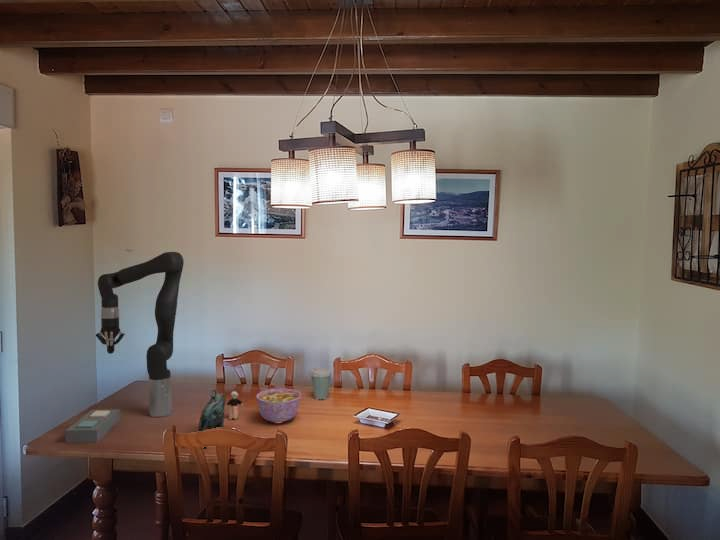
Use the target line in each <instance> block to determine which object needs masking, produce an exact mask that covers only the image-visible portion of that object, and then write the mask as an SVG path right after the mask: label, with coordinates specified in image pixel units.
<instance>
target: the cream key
mask: <svg viewBox="0 0 720 540" xmlns="http://www.w3.org/2000/svg"><path fill="white" fill-rule="evenodd" d="M108 414H110V411H95V412H94V413H93V414H91V415H90V417H106V416H107V415H108Z"/></svg>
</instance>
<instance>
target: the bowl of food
mask: <svg viewBox="0 0 720 540" xmlns="http://www.w3.org/2000/svg"><path fill="white" fill-rule="evenodd" d="M255 396H256V397H255V398H256V401H257V406H258V410H259V413H260V414H261V417H262V418H263V419H265V420H266V421H268V422H270V421H271V422H270V423H272V422H284V421H286V422H287V421H289V420H292V419H293V418H294V417H295V416H296V414H297V412H298V408H299V405H300V401H301V397H302V394H301V392H300V391H297V390H295V389H292V388H291V389H290V388H270V389H266V390H263V391H260V392H259V393H257V394H256V395H255ZM284 423H285V422H284Z"/></svg>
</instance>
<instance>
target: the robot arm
mask: <svg viewBox="0 0 720 540" xmlns="http://www.w3.org/2000/svg"><path fill="white" fill-rule="evenodd" d="M183 270H184V257H183V255H182V254H181V253H180V252H178V251H166V252H162V253H161V254H159V255H157V256H155V257H153V258H152V259H149V260H147V261H144V262H141V263H139V264H133V265H131V266H128V267H125V268H122V269H120V270H118V271H116V272H112V273H103V274H101V275H100V276H99V278H98V280H97V287H98V292H99V294H100V298H101V310H100V319H101V321H100V323H101V324H100V326H101V329H100V330H99V332H98V333H96V334H95V337H96V338H97V339H98V340H99V342H100V343H101V344H102V345H105V346H106V352H107V354H111V355H112V354H113V353H114V352H115V350H116V349H115V346H116V345H117V344H119V343H120V342H121V340H122V339H123V338H124V337H125V336H126V333H125V332H122V331H121V329H120V309H119V308H120V307H119V296H118V295H117V294H116V293H114V290H113V289H116V288H119V287H122V286H124V285H126V284H132V283H134V282H137V281H140V280H142V279H144V278H146V277H148V276H152V275H156V274H160V273H161V274H162V273H165V274H164V280H163V284H162V285H161V287H160V290H159V292H158V294H157V296H156V300H155V305H154V319H155V322H156V326H157V335H156V342H155V343H154V344H152V345H151V346H149V347H148V348H147V350H146V355H145V356H146V371H147V375H148V391H149V392H148V397H149V399H148V404H149V406H148V407H149V411H148V413H149V416H150V417H153V418H162V417H168V416H170V415H171V413H172V412H173V391H172V390H171V382H172V381H171V370H170V369H168V365H167V361H168V360H170V358H171V357H172V356H173V353H174V331H175V323H176V316H177V308H178V297H179V289H180V282H181V276H182V274H183V273H182V272H183ZM116 337H118V338H116Z"/></svg>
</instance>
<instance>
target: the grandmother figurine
mask: <svg viewBox="0 0 720 540" xmlns="http://www.w3.org/2000/svg"><path fill="white" fill-rule="evenodd" d="M230 396H231V398H230V399H229V400H228V402H227V403H226V404H225V409H228V408H229V414H228V415H229V417H228V419H232V418H233V420H234V419H237V418H238V419H239V405H240V406H241V408H242V407H244V405H243V402H242V400H240V399H238V397H239V393H238V392H237V391H231V393H230ZM238 419H237V420H238Z"/></svg>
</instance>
